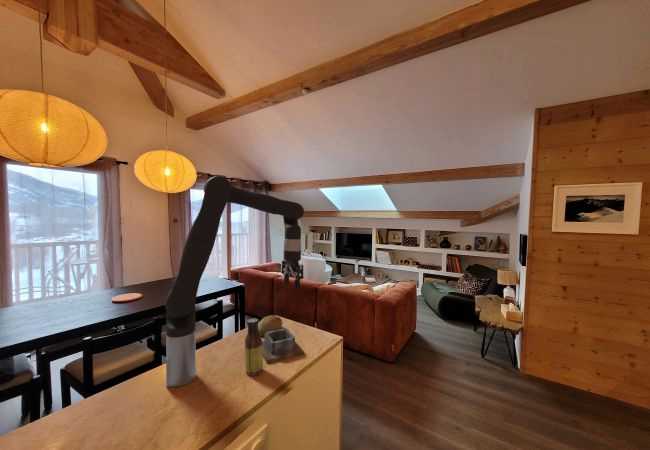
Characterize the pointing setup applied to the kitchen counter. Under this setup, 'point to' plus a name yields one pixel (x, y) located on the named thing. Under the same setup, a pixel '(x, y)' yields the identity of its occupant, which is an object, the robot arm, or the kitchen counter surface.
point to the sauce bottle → (253, 349)
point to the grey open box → (279, 346)
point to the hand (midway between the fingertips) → (291, 286)
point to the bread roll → (269, 324)
